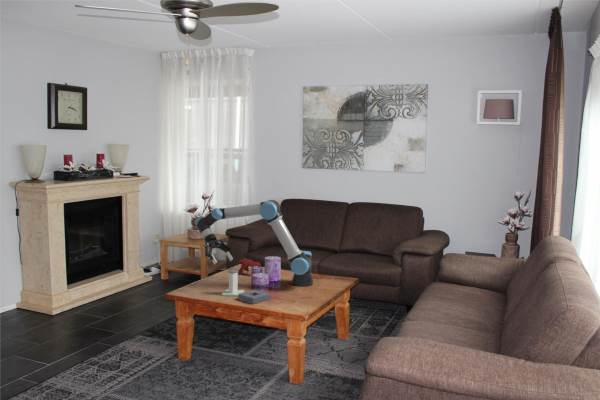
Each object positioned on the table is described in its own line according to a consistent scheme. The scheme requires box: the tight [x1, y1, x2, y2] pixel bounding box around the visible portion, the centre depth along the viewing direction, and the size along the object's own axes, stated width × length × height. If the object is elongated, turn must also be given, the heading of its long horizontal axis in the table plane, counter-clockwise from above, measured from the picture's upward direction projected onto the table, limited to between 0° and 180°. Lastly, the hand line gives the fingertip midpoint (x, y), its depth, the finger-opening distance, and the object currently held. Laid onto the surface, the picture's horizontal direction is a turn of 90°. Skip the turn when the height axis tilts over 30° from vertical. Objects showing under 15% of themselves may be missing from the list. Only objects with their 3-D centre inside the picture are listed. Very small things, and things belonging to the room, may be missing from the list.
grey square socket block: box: [237, 289, 271, 305], centre depth 329 cm, size 14×14×4 cm
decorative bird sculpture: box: [236, 257, 262, 275], centre depth 395 cm, size 28×9×15 cm
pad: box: [221, 288, 245, 298], centre depth 341 cm, size 12×12×1 cm
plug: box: [227, 269, 239, 293], centre depth 340 cm, size 5×5×14 cm
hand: (223, 261), depth 348 cm, fingers open, 13 cm apart
